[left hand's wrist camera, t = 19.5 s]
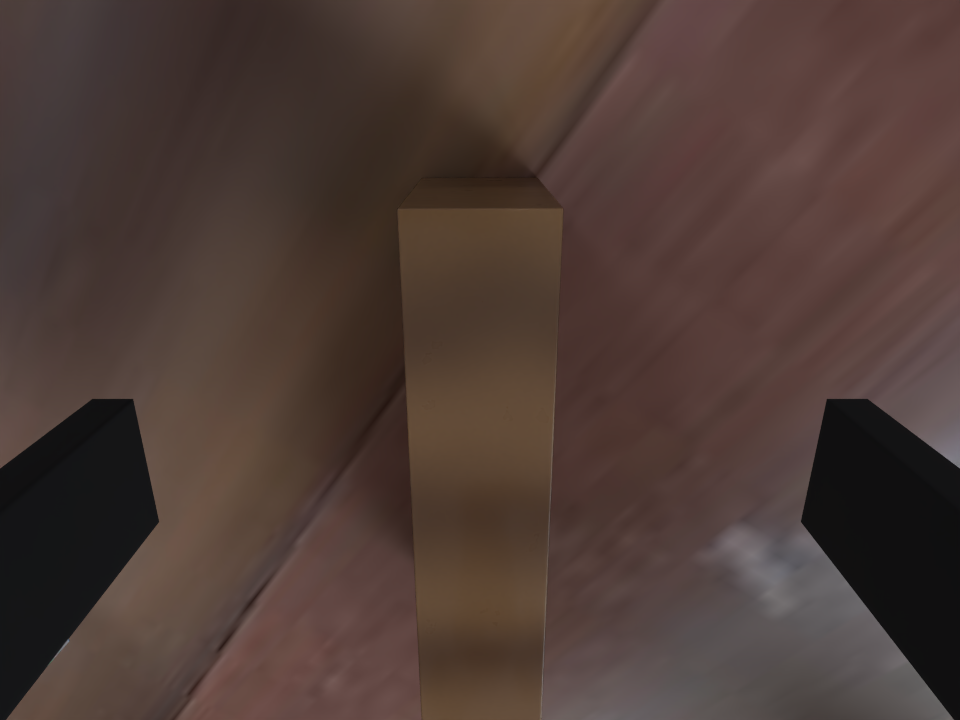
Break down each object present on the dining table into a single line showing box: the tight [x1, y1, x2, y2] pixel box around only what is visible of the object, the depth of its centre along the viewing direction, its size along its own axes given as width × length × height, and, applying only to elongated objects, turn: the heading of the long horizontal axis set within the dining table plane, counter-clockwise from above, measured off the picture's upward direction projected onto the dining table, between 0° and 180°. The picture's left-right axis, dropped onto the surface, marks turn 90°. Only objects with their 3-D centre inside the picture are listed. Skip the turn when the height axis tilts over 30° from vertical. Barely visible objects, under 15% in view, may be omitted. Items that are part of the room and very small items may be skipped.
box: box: [397, 178, 563, 720], centre depth 34 cm, size 26×6×11 cm, turn 0°
